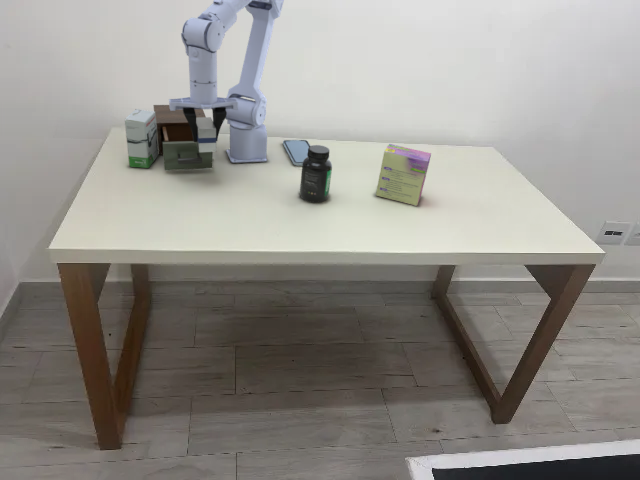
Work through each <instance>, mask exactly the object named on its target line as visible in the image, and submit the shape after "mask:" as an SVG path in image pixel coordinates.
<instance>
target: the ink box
mask: <svg viewBox="0 0 640 480" xmlns="http://www.w3.org/2000/svg"><path fill="white" fill-rule="evenodd" d="M124 126H125V127H124V128H125V136H126V137H125V138H126V147H127V154H128V156H127V158H128V164H129V167H131V168H141V169H143V168H144V169H149V168H150V167H151V166H152V165H153V163H154V162H155V160H156V159H157V158H158V156H159V151H158V143H157V130H156V115H155V112H154V110H147V109H139V108H138V109H137V108H135V109H134V110H133V111H132V112H131V113H130V114H129V115H127V116H126V117H125V118H124Z"/></svg>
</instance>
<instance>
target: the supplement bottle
mask: <svg viewBox="0 0 640 480" xmlns="http://www.w3.org/2000/svg"><path fill="white" fill-rule="evenodd" d="M307 156H308V157H307V158H305V159H304V161H303V163H302V166H301V173H300V174H301V175H300V185H299V196H300V197H301V199H303V200H304V201H306V202H309V203H314V204H317V203H318V204H319V203H323V202H325V201H327V200H328V198H329V196H330V195H329V194H330V188H331V178H332V170H333V163H332V161H331V159H330V148H329V147H328V146H325V145H321V144H313V145H310V147H309V148H308V153H307Z"/></svg>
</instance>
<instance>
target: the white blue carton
mask: <svg viewBox="0 0 640 480" xmlns="http://www.w3.org/2000/svg"><path fill="white" fill-rule="evenodd" d="M196 131H197V142H196V145H197V148H198V151H199V152H212V153H216V152H217V141H216V128H215V125H214V123H213V118H212V117H211V116H206V117H198V118H196Z"/></svg>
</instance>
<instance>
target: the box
mask: <svg viewBox="0 0 640 480" xmlns="http://www.w3.org/2000/svg"><path fill="white" fill-rule="evenodd" d="M431 156H432V153H431V152H428V151H427V152H426V151H423V150H418V149H414V148H409V147H405V146H400V145H396V144H393V143H389V144H388V145H387V146H386V149H384V152H383V156H382V161H381V166H380V172H379V176H378V182H377V187H376V193H375V196H377V197H381V198H385V199H388V200H393V201H396V202H401V203H404V204H407V205H412V206H415V207H417V206H418V205H419V203H420V200H421V197H422V193H423V189H424V186H425V181H426V177H427V173H428V169H429V165H430V161H431Z"/></svg>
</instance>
